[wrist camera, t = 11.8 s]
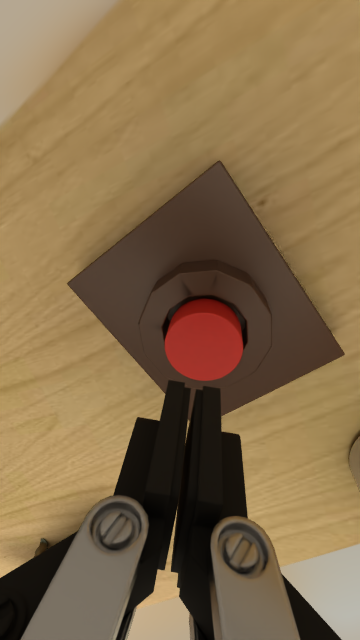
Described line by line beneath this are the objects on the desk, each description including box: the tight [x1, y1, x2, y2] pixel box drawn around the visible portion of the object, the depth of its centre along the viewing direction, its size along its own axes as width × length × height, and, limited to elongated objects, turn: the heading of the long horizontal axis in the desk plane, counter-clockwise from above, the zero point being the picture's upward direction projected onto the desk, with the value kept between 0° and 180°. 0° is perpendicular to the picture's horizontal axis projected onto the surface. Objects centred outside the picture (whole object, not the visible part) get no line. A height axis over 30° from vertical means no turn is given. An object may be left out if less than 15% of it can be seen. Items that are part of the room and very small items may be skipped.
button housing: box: [67, 161, 345, 421], centre depth 18 cm, size 12×10×4 cm
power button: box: [165, 299, 243, 381], centre depth 16 cm, size 4×4×2 cm
